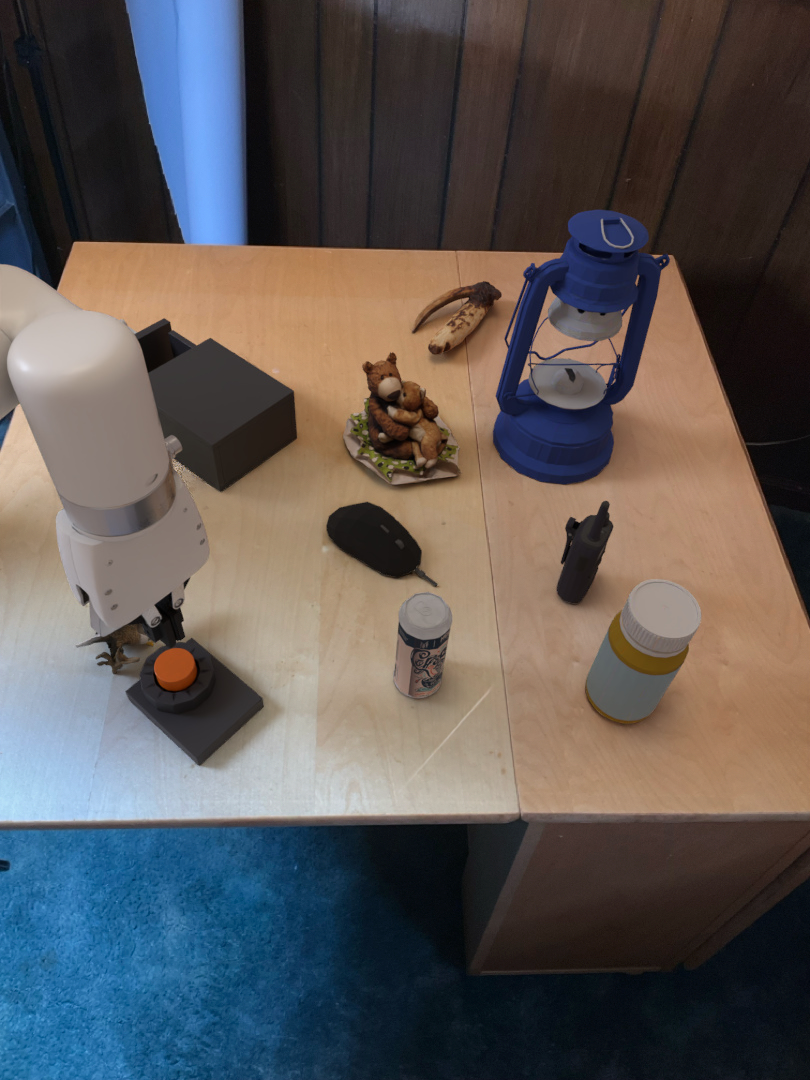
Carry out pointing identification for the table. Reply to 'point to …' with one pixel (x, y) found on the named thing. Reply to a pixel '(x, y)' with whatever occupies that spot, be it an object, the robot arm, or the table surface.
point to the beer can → (421, 644)
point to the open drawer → (160, 343)
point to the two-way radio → (583, 554)
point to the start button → (175, 669)
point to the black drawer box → (222, 412)
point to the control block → (196, 703)
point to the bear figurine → (400, 430)
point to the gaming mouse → (375, 539)
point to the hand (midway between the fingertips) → (166, 633)
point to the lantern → (585, 314)
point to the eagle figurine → (118, 645)
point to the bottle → (642, 650)
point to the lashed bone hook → (459, 314)
